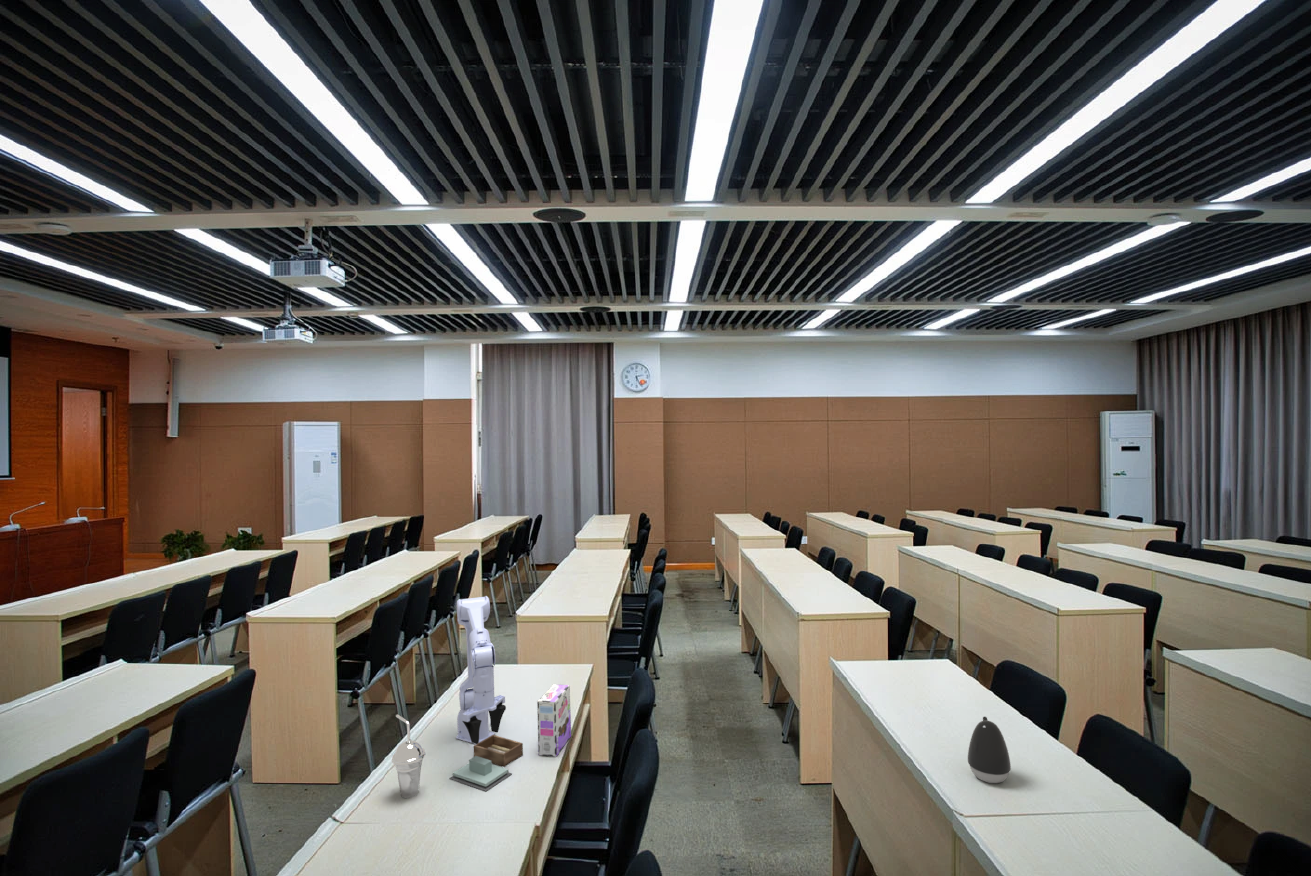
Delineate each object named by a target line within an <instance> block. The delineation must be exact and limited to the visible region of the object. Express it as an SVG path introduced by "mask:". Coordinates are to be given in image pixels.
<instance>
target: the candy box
mask: <svg viewBox="0 0 1311 876" xmlns="http://www.w3.org/2000/svg"><path fill="white" fill-rule="evenodd" d="M570 687H571V686H570V684H555V683H554V684H552V685H551V686H550V687H549V689H548V690H546V692H545V693H544V694H543V695H542V696H541V697H540V698H539V699H538V700H537V701H536V702H537V741H538V742H537V743H538V744H537V748H538V751H537V752H538V756H541V757H542V756H543V757H555V758H556V757H557V756H558V755H559V754H560V752H561V750H563V749H564V747H565V745H566V744H567V742H568V741H569V740H570V739H571V737H572V727H571V726H572V724H571V723H572V718H571V717H572V716H571V690H570V689H571V688H570Z"/></svg>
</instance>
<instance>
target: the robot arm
mask: <svg viewBox="0 0 1311 876" xmlns="http://www.w3.org/2000/svg"><path fill="white" fill-rule="evenodd" d="M490 612H491V603H490V597H488V596H487V595H485V596H479V597H469V598H459V599H458V600H457V601H456V615H457V618H456V620H457V624H458V625H461V626H463V627H464V629H465V635H466V637H465V638H466V657H467V658H466V661H467V678H466V679H464V681H463V682H461V683H460V685H459V695H458V696H459V707H460V710H459V711H458V714H457V721H456V722H457V735H456V736H455V739H456V740H460V741H463V742H467V743H470V744H474V745H476V744H478V743H479V742H481V741H483V740H485V739H487V738H488V737H490V736H492V735H495V734H497V733H498V732H499V730H500V724H501V721H502V719H503V715H504V713H505V712H506V710H507V707H506V705H505V703H506V696H505V695H502V694H499V695H496V696H495V675H494V674H495V673H494V671H495V670H494V667H495V665H496V657H497V656H496V649H495V646H494V644H493V643H492V642H491V636H490V632H489V630H488V629H486V628H485V622H486V621H487V622H488V619H489V616H490ZM489 719H490V724H489ZM489 725H490V727H489Z"/></svg>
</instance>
